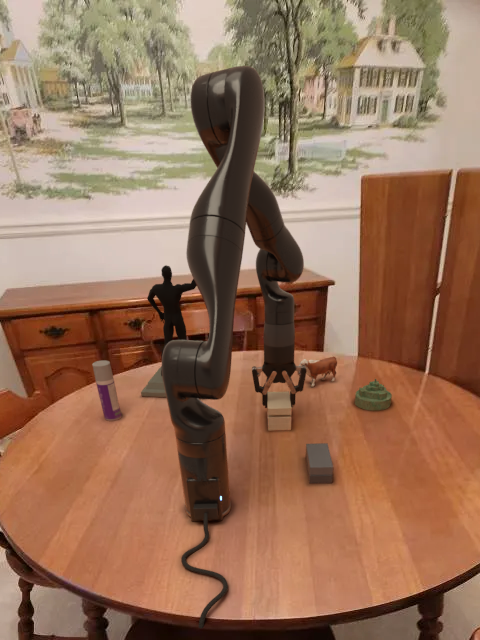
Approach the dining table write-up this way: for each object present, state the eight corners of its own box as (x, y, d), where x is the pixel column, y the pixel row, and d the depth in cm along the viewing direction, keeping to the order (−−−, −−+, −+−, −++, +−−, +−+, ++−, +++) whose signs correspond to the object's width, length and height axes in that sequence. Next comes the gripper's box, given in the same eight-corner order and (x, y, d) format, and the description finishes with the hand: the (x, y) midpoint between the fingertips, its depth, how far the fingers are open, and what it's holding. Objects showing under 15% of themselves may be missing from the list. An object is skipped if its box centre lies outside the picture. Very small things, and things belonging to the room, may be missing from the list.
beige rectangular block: (291, 414, 124) (291, 408, 123) (267, 415, 124) (267, 408, 123) (289, 397, 133) (289, 391, 132) (267, 398, 133) (266, 391, 132)
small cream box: (291, 430, 127) (291, 417, 125) (268, 430, 127) (267, 417, 125) (288, 412, 136) (289, 399, 134) (267, 412, 136) (267, 400, 134)
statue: (221, 375, 159) (212, 249, 137) (207, 399, 144) (195, 263, 122) (160, 373, 162) (142, 250, 139) (141, 396, 147) (117, 263, 125)
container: (100, 419, 135) (87, 364, 126) (112, 412, 139) (100, 359, 129) (114, 422, 134) (101, 367, 124) (125, 415, 137) (114, 361, 127)
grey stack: (332, 483, 107) (333, 467, 104) (309, 483, 107) (310, 467, 104) (326, 458, 115) (327, 443, 113) (305, 458, 116) (305, 443, 113)
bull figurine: (295, 384, 151) (295, 358, 146) (332, 377, 155) (334, 350, 150) (302, 389, 148) (302, 362, 143) (339, 381, 152) (342, 355, 147)
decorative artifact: (368, 413, 134) (397, 406, 137) (371, 388, 129) (401, 381, 133) (347, 400, 141) (376, 393, 144) (350, 376, 136) (379, 370, 140)
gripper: (249, 346, 116) (251, 413, 126) (310, 344, 115) (307, 412, 126) (249, 336, 121) (251, 401, 132) (307, 335, 121) (305, 400, 132)
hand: (278, 406), depth 129 cm, fingers closed on beige rectangular block, 6 cm apart
